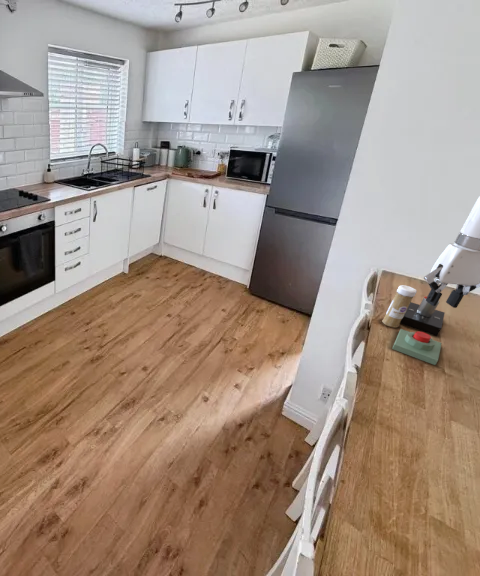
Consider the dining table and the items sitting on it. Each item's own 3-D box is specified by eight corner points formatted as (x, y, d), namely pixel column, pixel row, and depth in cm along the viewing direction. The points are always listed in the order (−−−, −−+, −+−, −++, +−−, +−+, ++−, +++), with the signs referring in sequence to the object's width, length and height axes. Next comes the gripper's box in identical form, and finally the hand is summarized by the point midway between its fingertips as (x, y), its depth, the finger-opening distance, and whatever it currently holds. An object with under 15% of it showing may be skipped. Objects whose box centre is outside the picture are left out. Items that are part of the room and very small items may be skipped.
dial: (432, 314, 122) (440, 298, 119) (430, 318, 119) (439, 303, 116) (417, 309, 124) (425, 294, 121) (415, 313, 121) (423, 298, 119)
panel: (436, 336, 115) (441, 328, 114) (398, 323, 121) (402, 315, 120) (440, 320, 124) (445, 312, 123) (404, 308, 130) (408, 300, 129)
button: (427, 345, 105) (430, 340, 105) (412, 339, 108) (414, 334, 107) (428, 339, 108) (431, 335, 107) (413, 334, 110) (416, 329, 109)
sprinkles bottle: (390, 328, 118) (408, 291, 112) (378, 320, 122) (395, 284, 116) (402, 327, 119) (421, 291, 113) (389, 319, 123) (407, 284, 117)
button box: (435, 365, 102) (441, 355, 101) (392, 349, 108) (397, 339, 107) (438, 347, 110) (444, 337, 108) (398, 333, 116) (403, 323, 114)
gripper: (499, 240, 96) (463, 300, 105) (429, 234, 97) (399, 294, 106) (525, 251, 89) (484, 314, 98) (450, 245, 91) (416, 308, 99)
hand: (440, 303), depth 102 cm, fingers open, 4 cm apart
